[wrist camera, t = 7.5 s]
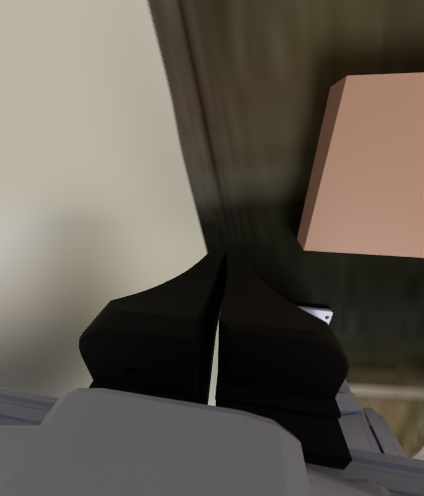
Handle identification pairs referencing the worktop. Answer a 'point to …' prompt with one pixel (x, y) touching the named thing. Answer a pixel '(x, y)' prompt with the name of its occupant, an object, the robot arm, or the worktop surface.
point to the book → (369, 169)
